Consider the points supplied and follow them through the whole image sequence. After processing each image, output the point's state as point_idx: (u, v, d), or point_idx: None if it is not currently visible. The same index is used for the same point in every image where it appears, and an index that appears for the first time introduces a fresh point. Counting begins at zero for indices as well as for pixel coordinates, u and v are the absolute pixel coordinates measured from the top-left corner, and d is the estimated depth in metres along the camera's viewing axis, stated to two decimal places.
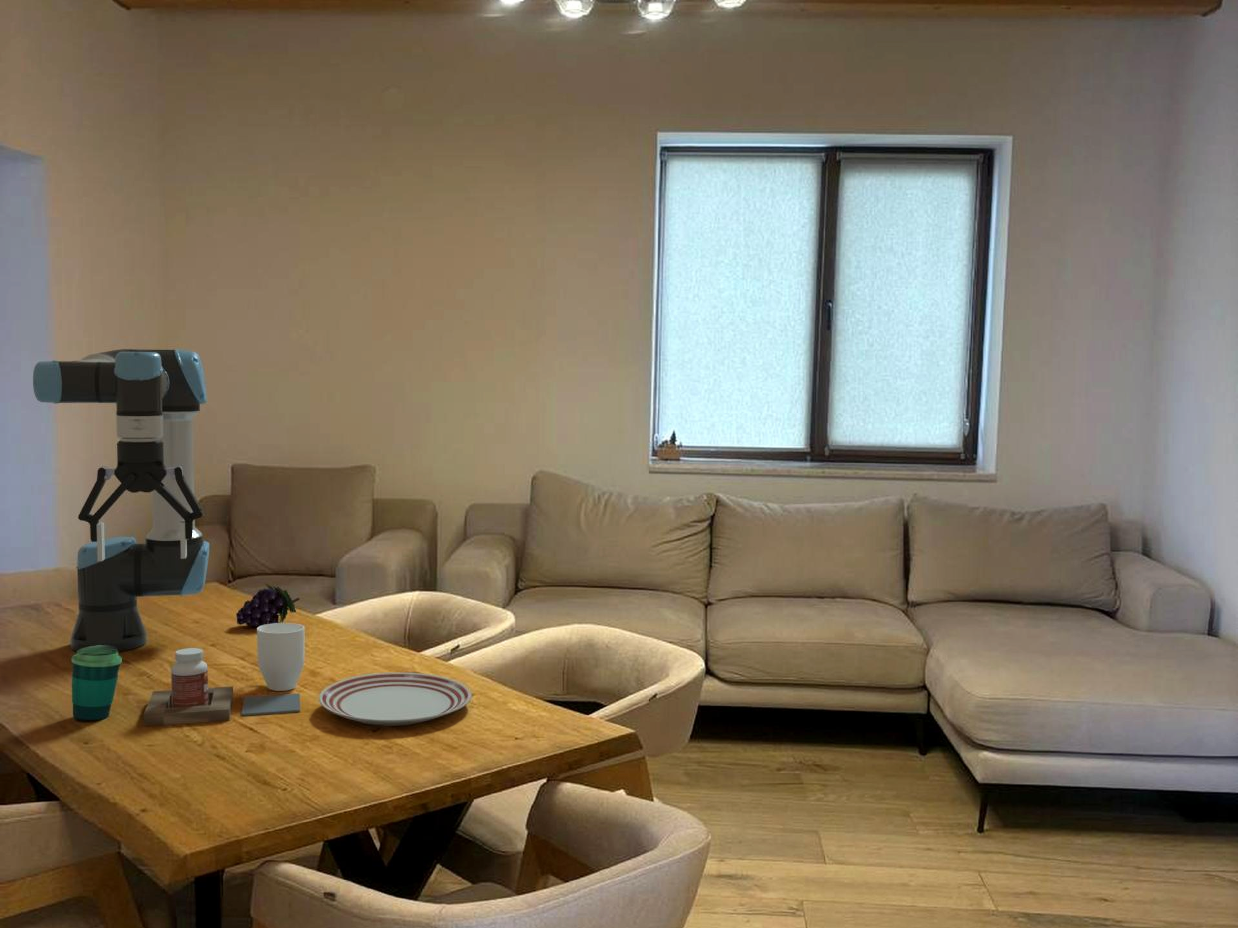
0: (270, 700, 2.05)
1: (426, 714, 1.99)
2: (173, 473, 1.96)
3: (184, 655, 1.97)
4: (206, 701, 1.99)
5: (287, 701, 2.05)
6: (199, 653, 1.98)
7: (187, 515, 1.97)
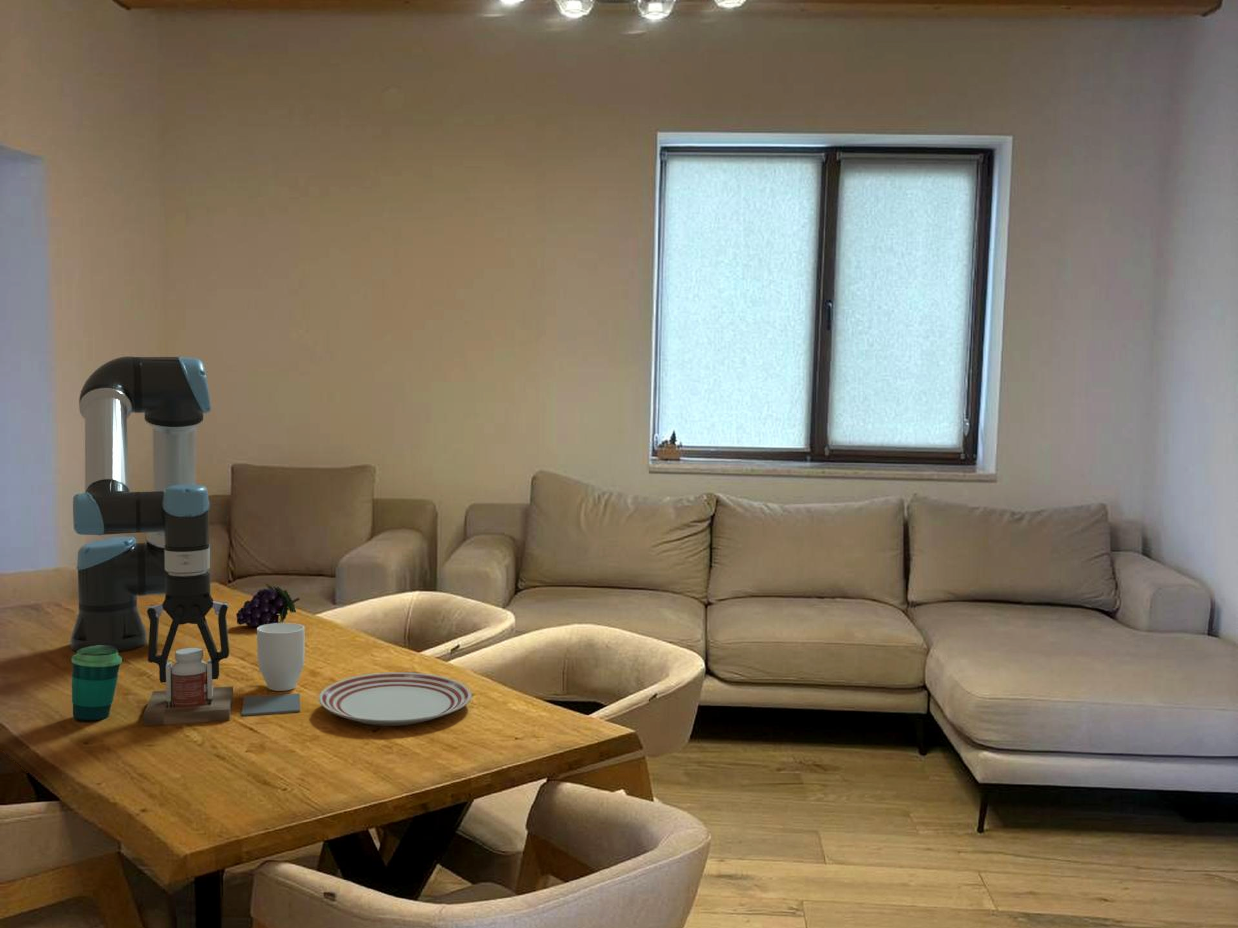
0: (270, 700, 2.05)
1: (426, 714, 1.99)
2: (218, 608, 1.99)
3: (184, 655, 1.97)
4: (206, 701, 1.99)
5: (287, 701, 2.05)
6: (199, 653, 1.98)
7: (215, 656, 1.99)
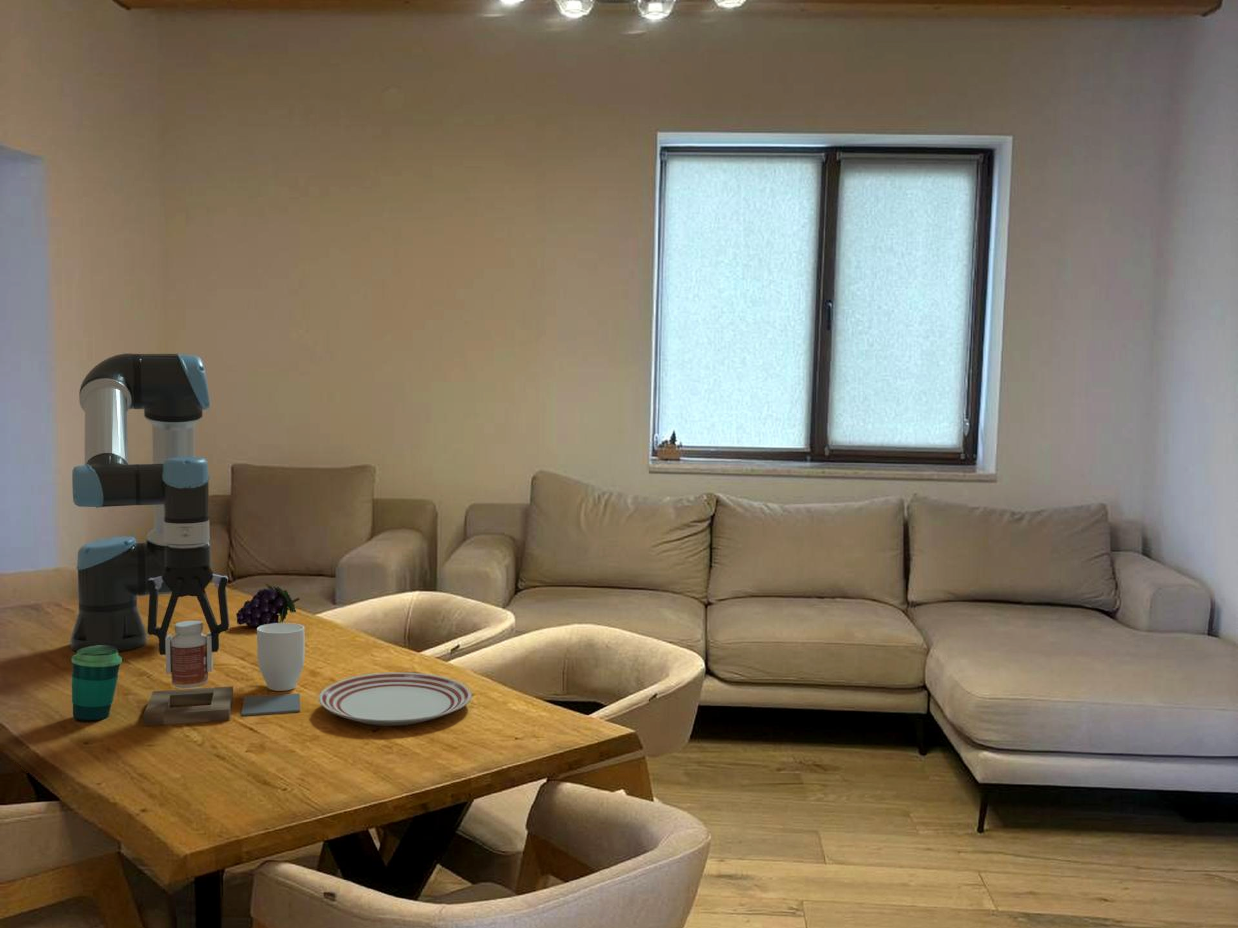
0: (270, 700, 2.05)
1: (426, 714, 1.99)
2: (218, 581, 1.99)
3: (184, 627, 1.96)
4: (206, 674, 1.99)
5: (287, 701, 2.05)
6: (199, 625, 1.98)
7: (215, 629, 1.99)
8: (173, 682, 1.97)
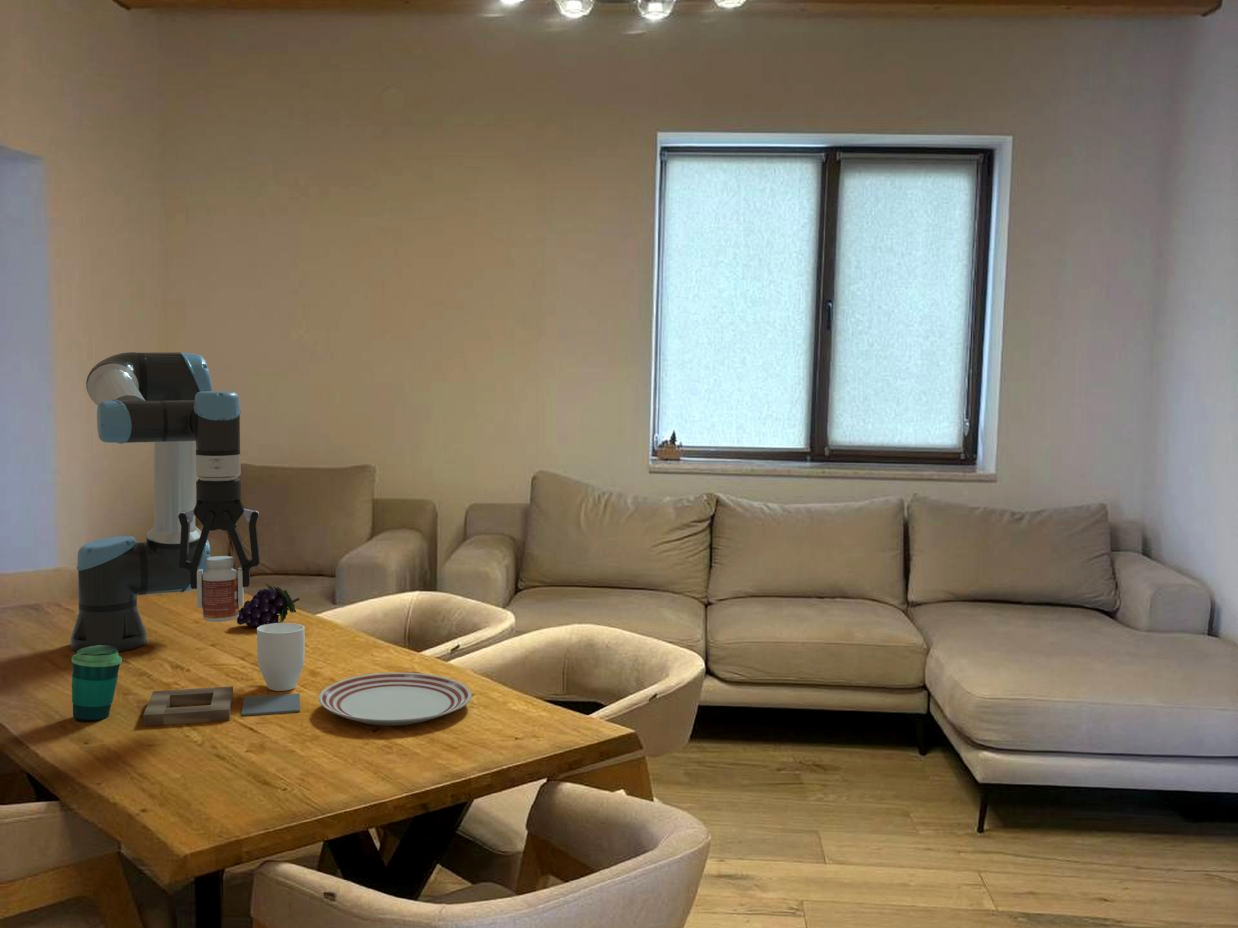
0: (270, 700, 2.05)
1: (426, 714, 1.99)
2: (249, 516, 1.99)
3: (215, 561, 1.96)
4: (236, 608, 1.99)
5: (287, 701, 2.05)
6: (230, 560, 1.98)
7: (246, 563, 1.99)
8: (204, 616, 1.97)
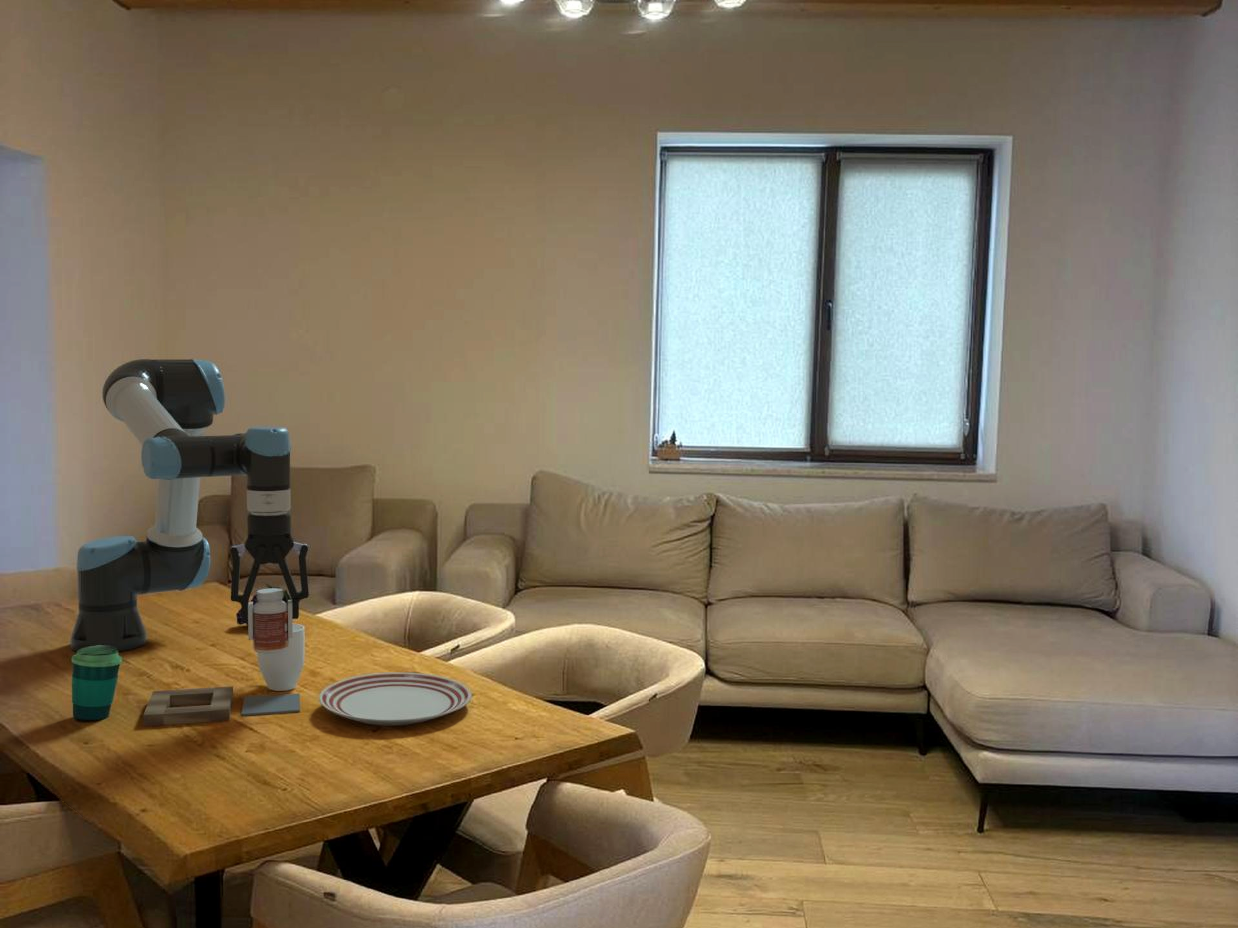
0: (270, 700, 2.05)
1: (426, 714, 1.99)
2: (298, 549, 2.02)
3: (266, 594, 1.99)
4: (287, 640, 2.02)
5: (287, 701, 2.05)
6: (280, 592, 2.01)
7: (295, 596, 2.02)
8: (255, 648, 2.00)
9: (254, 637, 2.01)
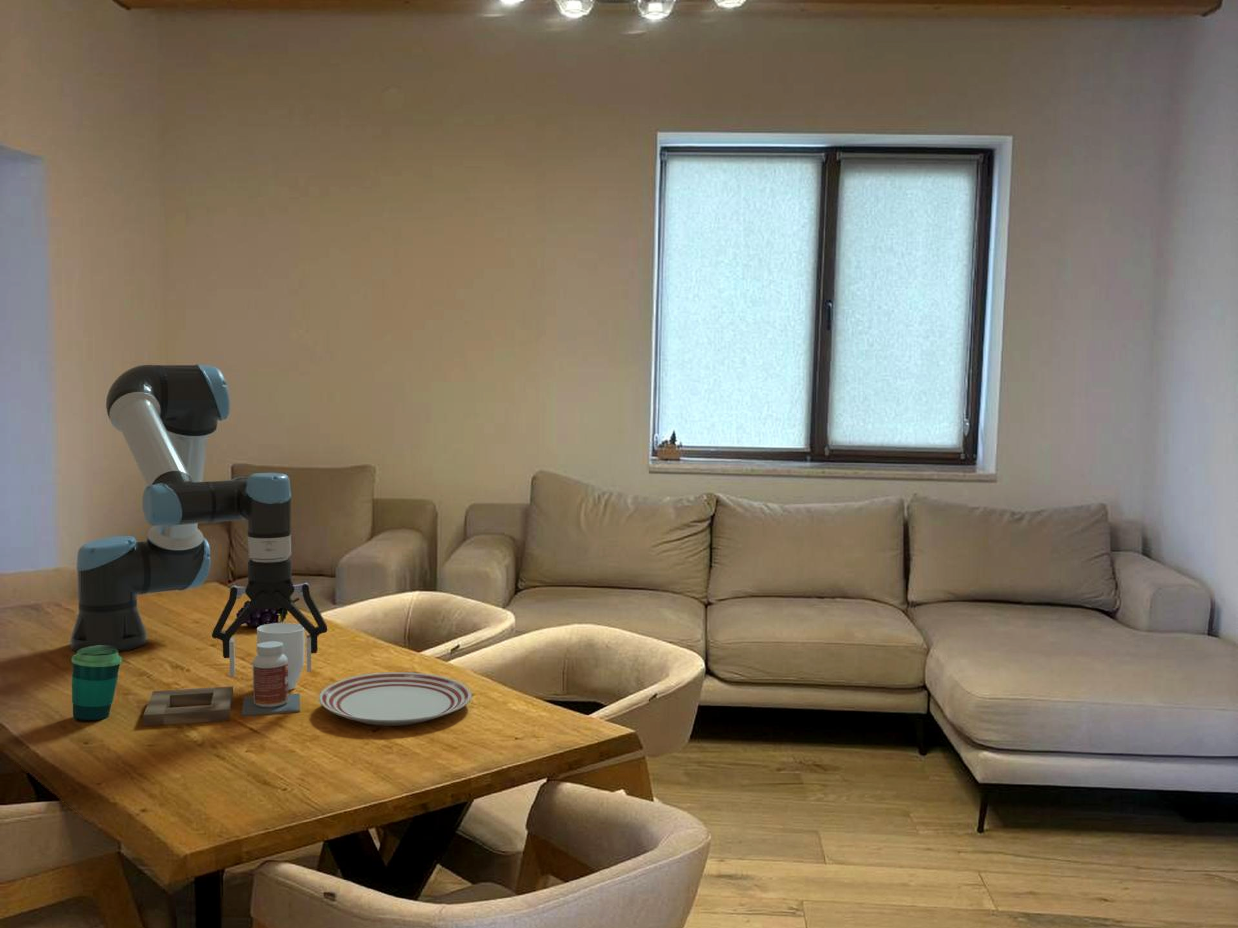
0: None
1: (426, 714, 1.99)
2: (300, 590, 2.03)
3: (266, 648, 2.00)
4: (287, 693, 2.03)
5: None
6: (280, 646, 2.02)
7: (313, 630, 2.03)
8: (256, 702, 2.02)
9: (254, 691, 2.02)
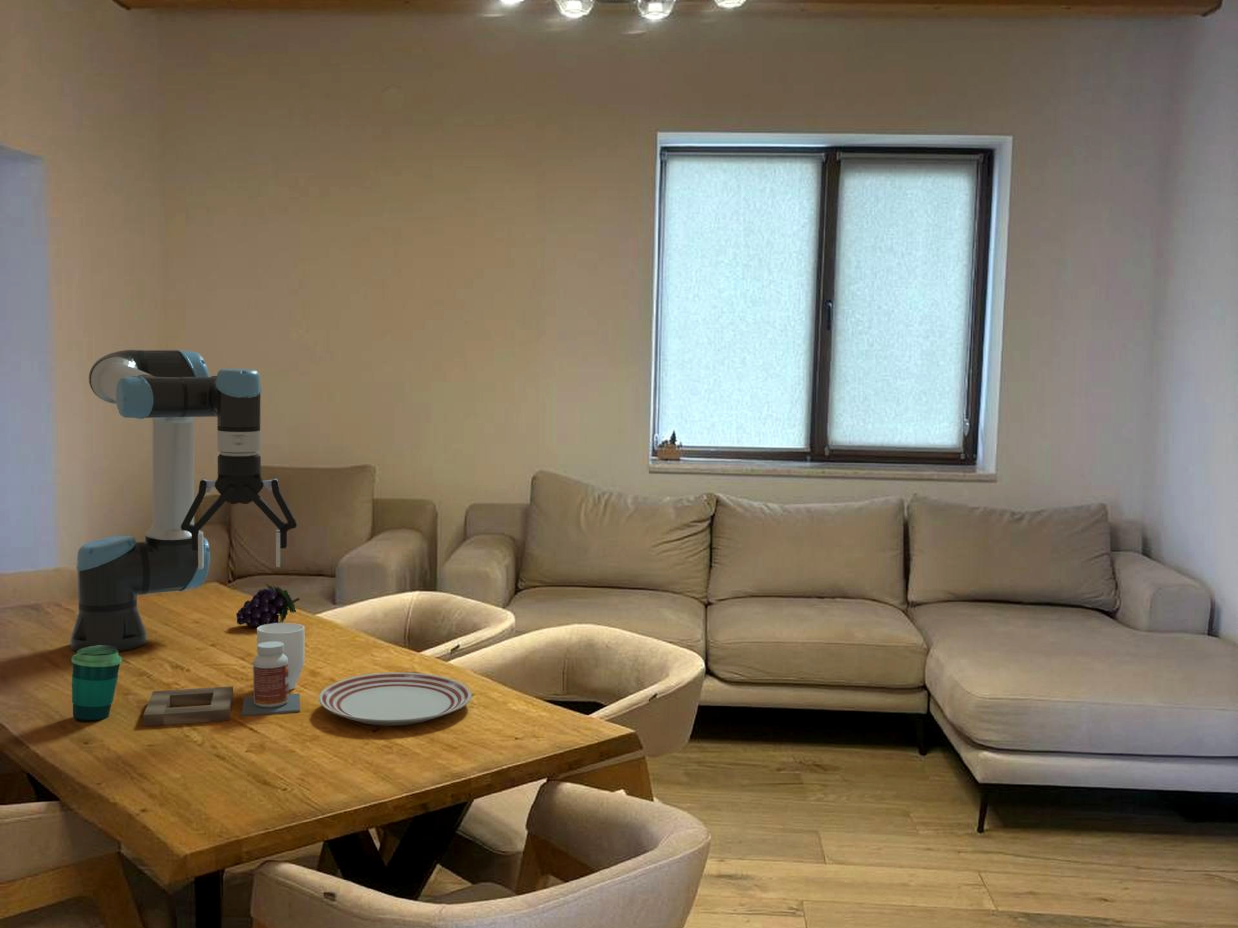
0: None
1: (426, 714, 1.99)
2: (270, 485, 2.05)
3: (266, 648, 2.00)
4: (287, 693, 2.03)
5: None
6: (281, 646, 2.02)
7: (282, 525, 2.06)
8: (256, 702, 2.02)
9: (254, 691, 2.02)
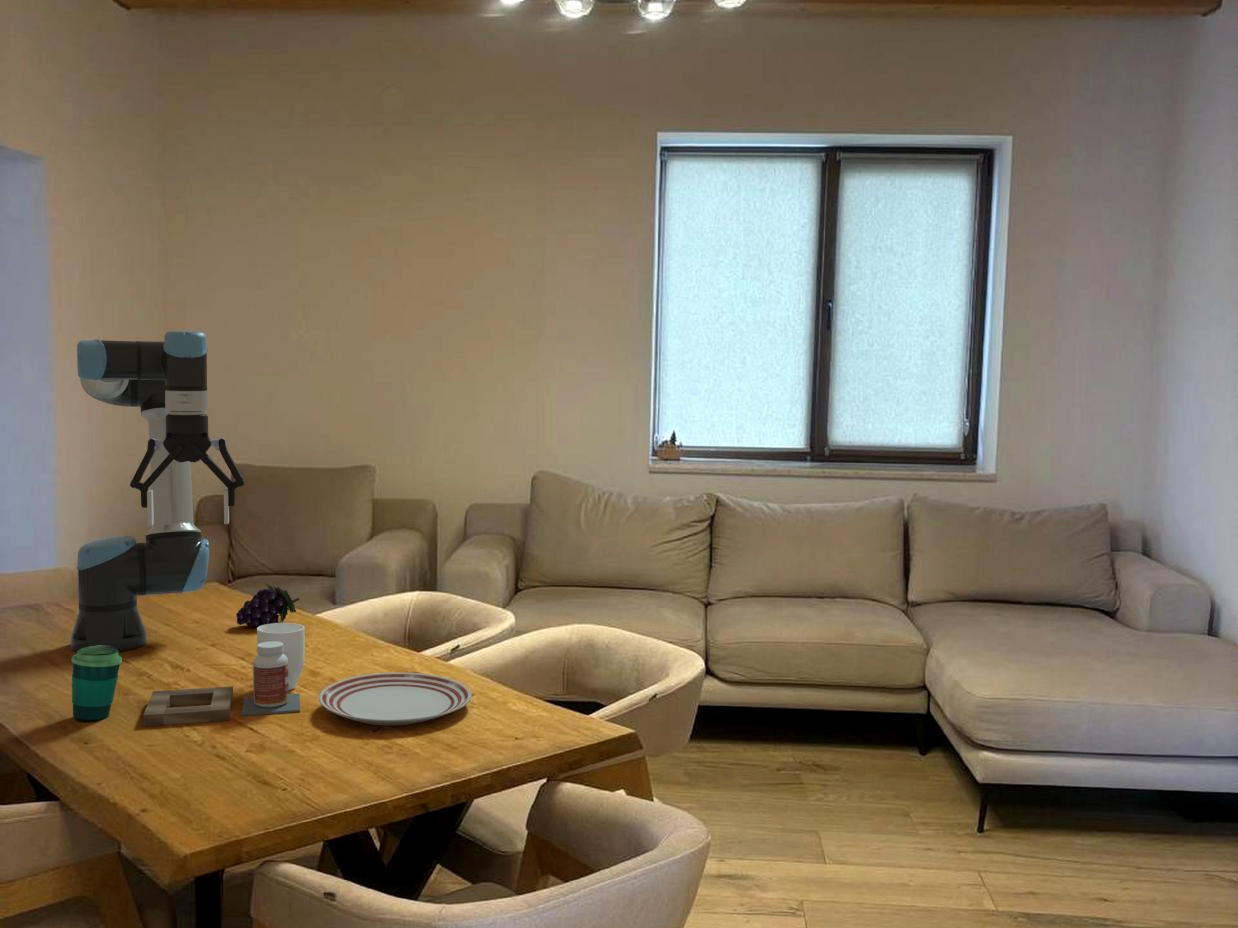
0: None
1: (426, 714, 1.99)
2: (217, 444, 2.11)
3: (266, 648, 2.01)
4: (287, 693, 2.03)
5: None
6: (280, 646, 2.02)
7: (230, 483, 2.12)
8: (256, 702, 2.02)
9: (254, 691, 2.02)
